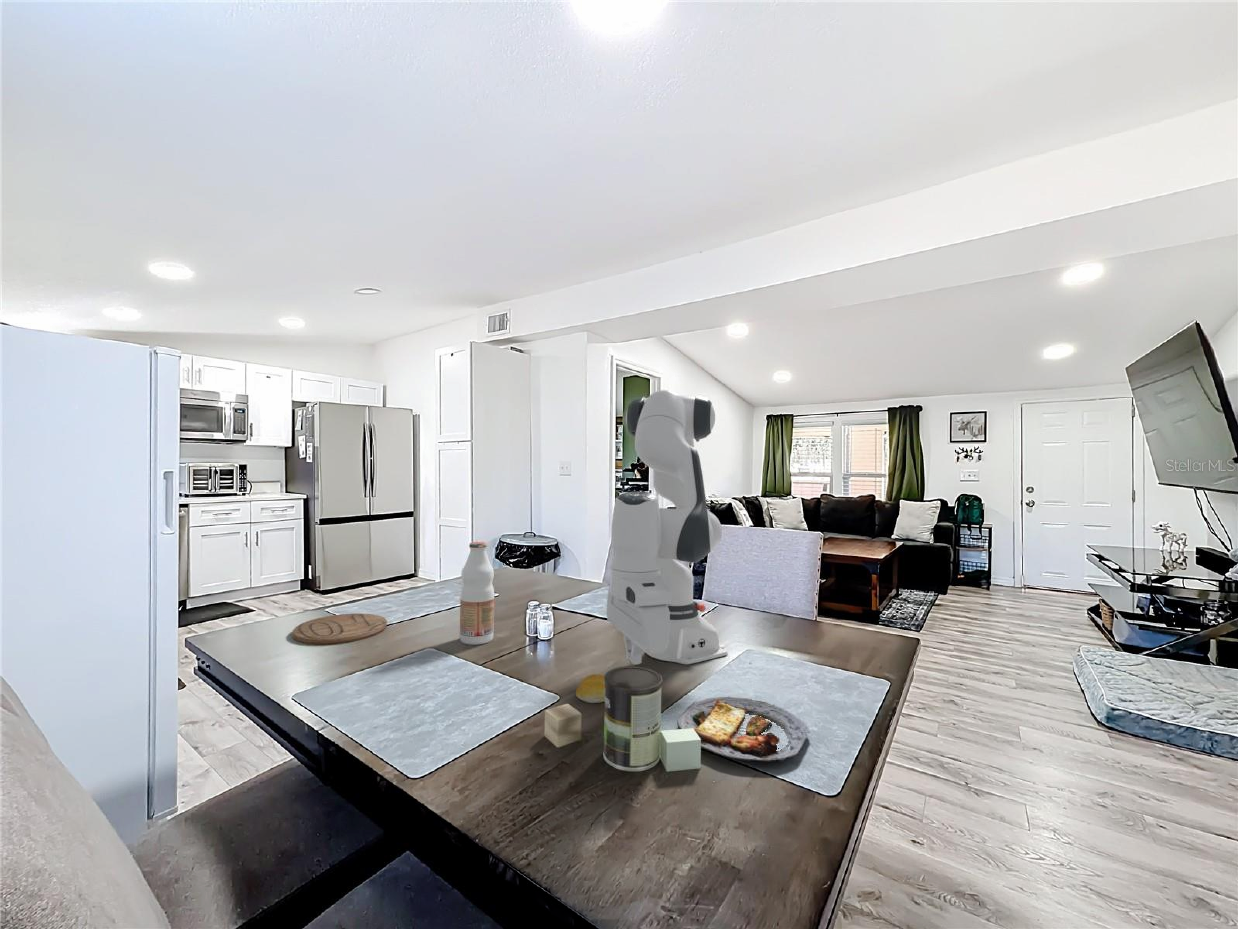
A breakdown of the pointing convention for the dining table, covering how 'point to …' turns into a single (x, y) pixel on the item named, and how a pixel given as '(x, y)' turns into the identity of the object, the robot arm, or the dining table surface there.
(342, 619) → the trivet
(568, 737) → the maple block
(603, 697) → the bread roll
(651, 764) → the coffee can
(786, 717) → the food plate
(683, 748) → the pale green block
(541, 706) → the dining table surface
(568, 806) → the dining table surface
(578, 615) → the dining table surface
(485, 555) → the fruit juice
